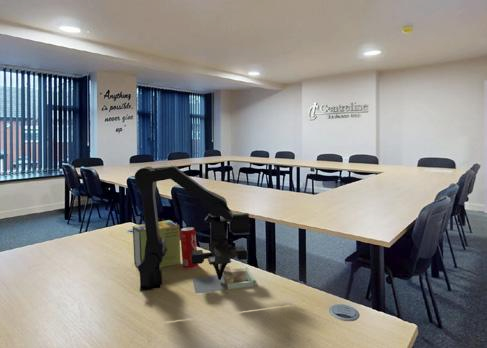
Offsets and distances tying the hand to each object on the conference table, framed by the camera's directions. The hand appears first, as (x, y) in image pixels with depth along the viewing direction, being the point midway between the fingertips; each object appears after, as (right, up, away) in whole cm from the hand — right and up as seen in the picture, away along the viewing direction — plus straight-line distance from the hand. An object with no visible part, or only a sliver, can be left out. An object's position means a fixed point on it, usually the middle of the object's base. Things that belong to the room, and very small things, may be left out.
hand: (219, 279), depth 112 cm
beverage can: (-13, 0, +15) cm, 19 cm away
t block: (+5, -1, +1) cm, 5 cm away
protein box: (-26, 0, +18) cm, 31 cm away
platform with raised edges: (+1, -1, 0) cm, 2 cm away
